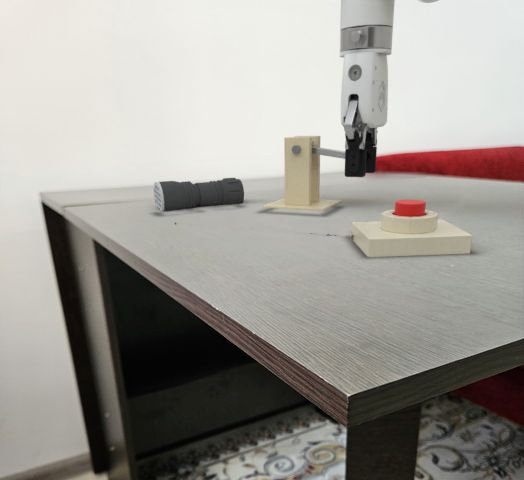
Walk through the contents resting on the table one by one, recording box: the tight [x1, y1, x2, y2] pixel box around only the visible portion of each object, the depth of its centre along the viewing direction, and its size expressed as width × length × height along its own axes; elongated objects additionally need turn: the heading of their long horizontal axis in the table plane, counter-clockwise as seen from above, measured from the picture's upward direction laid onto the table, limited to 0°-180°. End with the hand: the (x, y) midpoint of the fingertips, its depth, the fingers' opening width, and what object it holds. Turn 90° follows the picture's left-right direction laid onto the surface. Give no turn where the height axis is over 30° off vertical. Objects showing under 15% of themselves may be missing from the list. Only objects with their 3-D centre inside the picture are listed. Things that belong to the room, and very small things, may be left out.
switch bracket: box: [261, 135, 342, 212], centre depth 88 cm, size 11×9×12 cm
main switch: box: [312, 141, 369, 161], centre depth 85 cm, size 12×5×2 cm, turn 64°
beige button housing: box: [350, 208, 473, 258], centre depth 64 cm, size 12×10×4 cm
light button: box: [394, 199, 427, 217], centre depth 63 cm, size 4×4×2 cm
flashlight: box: [153, 177, 245, 212], centre depth 92 cm, size 15×5×5 cm, turn 114°
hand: (360, 173), depth 84 cm, fingers closed on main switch, 5 cm apart
